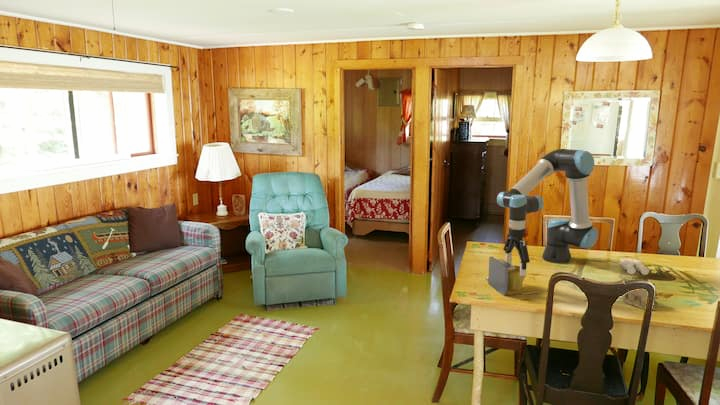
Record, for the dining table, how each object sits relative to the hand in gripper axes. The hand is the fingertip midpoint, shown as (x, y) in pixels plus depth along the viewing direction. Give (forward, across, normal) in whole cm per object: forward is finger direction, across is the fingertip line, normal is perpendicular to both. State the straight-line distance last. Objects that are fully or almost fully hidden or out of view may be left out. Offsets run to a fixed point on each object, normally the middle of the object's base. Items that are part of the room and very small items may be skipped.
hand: (515, 270), depth 238 cm
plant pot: (+9, 0, 0) cm, 9 cm away
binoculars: (+10, -9, +73) cm, 74 cm away
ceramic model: (+10, +31, +44) cm, 54 cm away
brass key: (+9, -14, -4) cm, 17 cm away
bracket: (+9, 0, 0) cm, 9 cm away
